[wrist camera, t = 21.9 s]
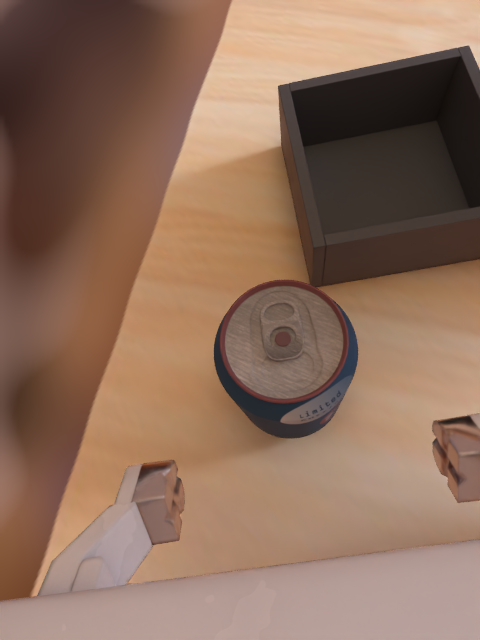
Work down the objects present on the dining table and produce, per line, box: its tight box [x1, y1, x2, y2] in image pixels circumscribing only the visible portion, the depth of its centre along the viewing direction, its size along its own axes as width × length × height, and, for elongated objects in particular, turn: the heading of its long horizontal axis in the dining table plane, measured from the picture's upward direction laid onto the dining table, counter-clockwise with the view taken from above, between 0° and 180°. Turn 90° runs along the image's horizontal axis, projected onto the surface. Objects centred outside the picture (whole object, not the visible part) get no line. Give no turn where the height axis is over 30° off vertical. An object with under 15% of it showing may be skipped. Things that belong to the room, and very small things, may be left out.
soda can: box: [214, 280, 358, 438], centre depth 25 cm, size 7×7×12 cm
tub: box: [278, 46, 480, 287], centre depth 32 cm, size 14×14×6 cm
